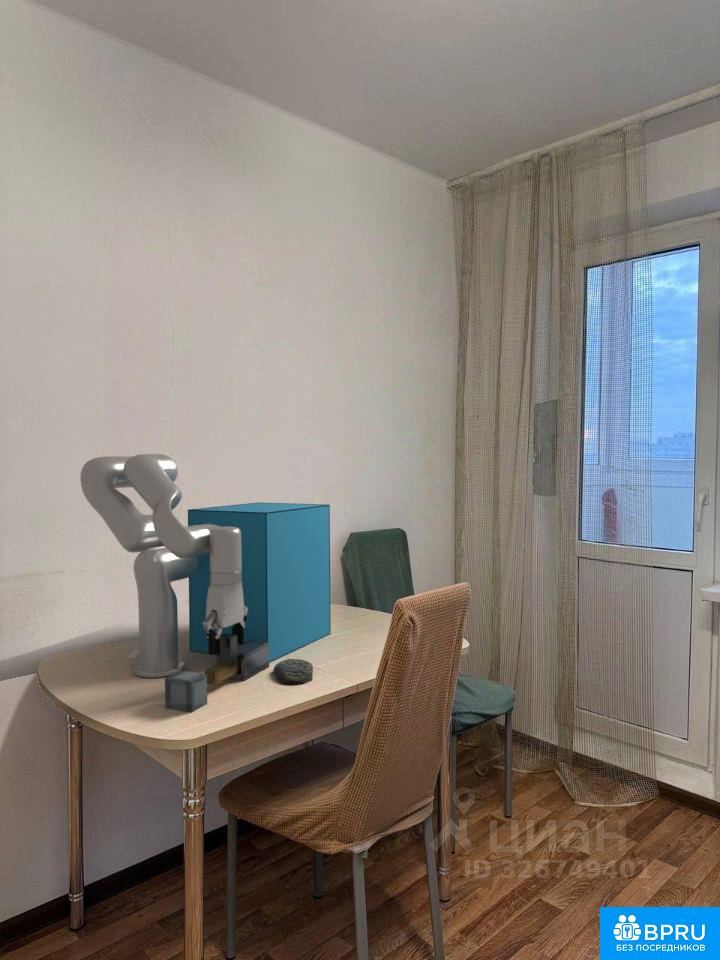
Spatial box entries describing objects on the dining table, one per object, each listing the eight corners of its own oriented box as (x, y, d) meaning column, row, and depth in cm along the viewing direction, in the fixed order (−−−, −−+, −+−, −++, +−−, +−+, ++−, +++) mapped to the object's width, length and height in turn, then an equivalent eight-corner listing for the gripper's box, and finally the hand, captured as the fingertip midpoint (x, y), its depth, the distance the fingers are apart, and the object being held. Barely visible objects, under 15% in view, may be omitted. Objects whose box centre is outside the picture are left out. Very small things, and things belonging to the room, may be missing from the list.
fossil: (312, 669, 173) (312, 654, 173) (312, 686, 160) (312, 669, 160) (273, 670, 173) (273, 655, 173) (270, 687, 160) (270, 671, 160)
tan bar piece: (202, 682, 156) (202, 642, 156) (253, 657, 176) (252, 621, 176) (217, 685, 154) (216, 644, 154) (266, 658, 175) (266, 622, 174)
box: (330, 634, 207) (329, 504, 206) (267, 663, 177) (266, 512, 176) (259, 624, 219) (258, 502, 218) (189, 651, 189) (187, 509, 188)
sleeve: (224, 678, 165) (224, 652, 165) (250, 664, 176) (250, 639, 176) (244, 681, 163) (243, 654, 163) (269, 666, 174) (269, 641, 174)
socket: (165, 707, 146) (164, 678, 146) (181, 699, 151) (180, 670, 151) (191, 712, 143) (191, 682, 143) (207, 703, 148) (206, 674, 148)
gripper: (232, 571, 170) (233, 638, 171) (190, 583, 154) (191, 657, 155) (258, 573, 167) (259, 641, 168) (218, 585, 151) (219, 661, 152)
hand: (226, 649), depth 161 cm, fingers open, 9 cm apart
